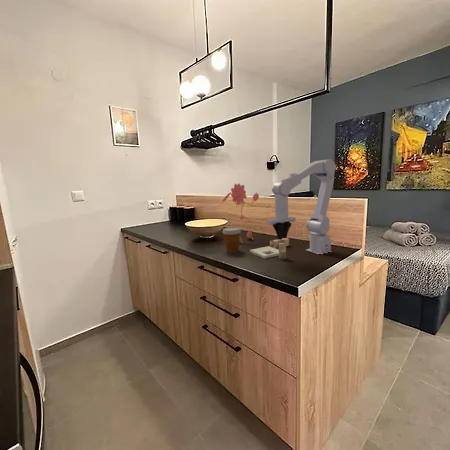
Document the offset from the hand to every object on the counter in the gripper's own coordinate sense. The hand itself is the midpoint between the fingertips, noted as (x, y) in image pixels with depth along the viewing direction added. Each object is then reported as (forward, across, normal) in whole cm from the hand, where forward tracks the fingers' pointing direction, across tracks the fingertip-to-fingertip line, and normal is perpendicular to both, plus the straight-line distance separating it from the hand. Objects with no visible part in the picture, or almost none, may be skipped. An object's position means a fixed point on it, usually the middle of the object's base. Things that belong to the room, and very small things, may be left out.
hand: (282, 238), depth 116 cm
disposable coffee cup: (+10, -13, +25) cm, 30 cm away
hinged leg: (+9, +11, +16) cm, 22 cm away
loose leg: (+9, 0, 0) cm, 9 cm away
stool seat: (+9, -1, +11) cm, 15 cm away
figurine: (+10, +2, +43) cm, 44 cm away
